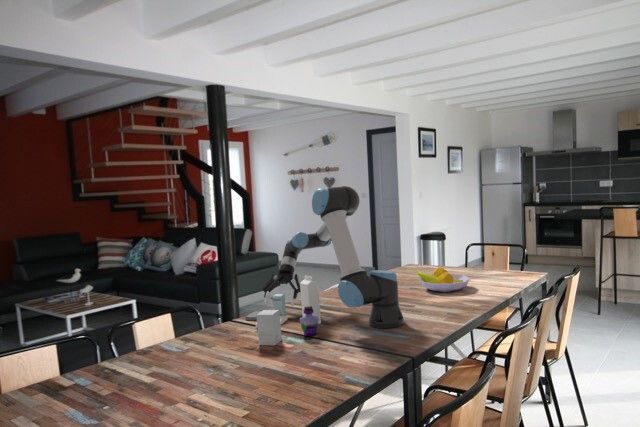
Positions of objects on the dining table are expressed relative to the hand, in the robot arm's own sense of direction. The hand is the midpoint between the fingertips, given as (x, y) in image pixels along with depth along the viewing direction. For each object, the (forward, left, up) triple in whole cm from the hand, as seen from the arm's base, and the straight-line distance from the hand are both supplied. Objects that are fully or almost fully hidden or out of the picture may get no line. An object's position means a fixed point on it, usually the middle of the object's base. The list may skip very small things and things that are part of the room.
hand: (278, 304), depth 231 cm
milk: (-17, -13, -7) cm, 23 cm away
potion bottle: (-32, -10, -7) cm, 35 cm away
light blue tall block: (0, 0, -7) cm, 7 cm away
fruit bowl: (+19, -92, -7) cm, 95 cm away
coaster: (+5, +9, -7) cm, 12 cm away
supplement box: (-36, +7, -7) cm, 37 cm away
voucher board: (-9, +4, -7) cm, 12 cm away
